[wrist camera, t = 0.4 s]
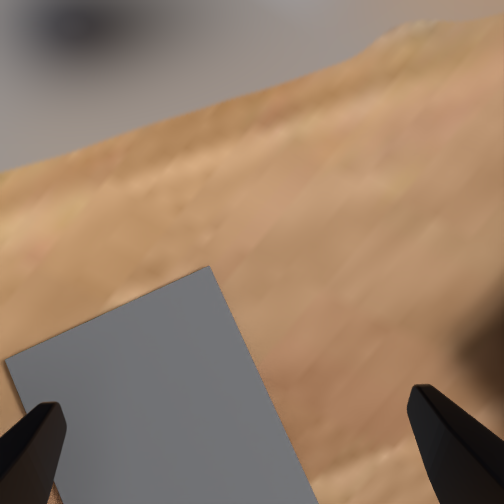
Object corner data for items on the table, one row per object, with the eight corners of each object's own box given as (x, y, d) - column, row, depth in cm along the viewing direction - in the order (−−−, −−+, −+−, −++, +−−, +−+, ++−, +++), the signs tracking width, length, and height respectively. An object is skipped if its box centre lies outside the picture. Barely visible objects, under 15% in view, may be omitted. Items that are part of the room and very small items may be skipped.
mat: (326, 521, 24) (329, 526, 23) (121, 633, 22) (119, 640, 22) (209, 266, 25) (209, 265, 24) (9, 358, 24) (4, 359, 23)
